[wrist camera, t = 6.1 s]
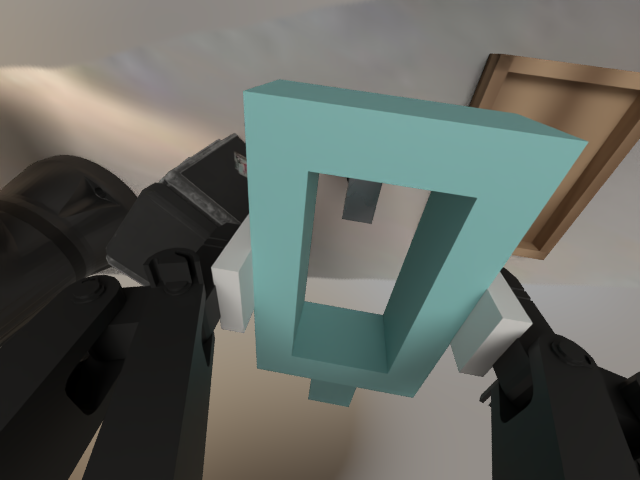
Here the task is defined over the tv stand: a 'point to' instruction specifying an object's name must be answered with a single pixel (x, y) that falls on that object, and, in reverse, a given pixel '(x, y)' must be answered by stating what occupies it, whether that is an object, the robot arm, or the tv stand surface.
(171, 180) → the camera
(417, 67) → the tv stand surface
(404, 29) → the tv stand surface
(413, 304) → the teal rectangular frame
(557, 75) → the tray
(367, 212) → the mallet
